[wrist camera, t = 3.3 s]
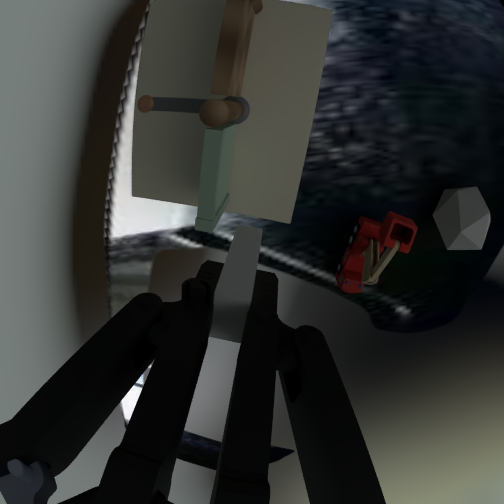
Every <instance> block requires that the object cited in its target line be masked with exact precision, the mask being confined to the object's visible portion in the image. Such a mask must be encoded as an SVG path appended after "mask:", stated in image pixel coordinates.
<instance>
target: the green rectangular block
mask: <svg viewBox="0 0 504 504" xmlns="http://www.w3.org/2000/svg"><path fill="white" fill-rule="evenodd" d="M235 130H236V124H234V123H224V124H222V125H219V126H215V127H212V128H206V129H205V136H204V145H203V155H202V165H201V175H200V187H199V199H198V212H197V217H196V219H195V230H200V231H206V232H211V233H212V232H213V230H214V228H215V227H216V225H217V223H218V221H219V219H220V217H221V216H222V214H223V212H224V210H225V208H226V207H227V205H228V203H229V196H230V194H228V193H227V189H228V181H229V173H230V166H231V158H232V151H233V144H234V137H235Z"/></svg>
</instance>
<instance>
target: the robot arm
mask: <svg viewBox="0 0 504 504" xmlns="http://www.w3.org/2000/svg"><path fill="white" fill-rule="evenodd" d="M499 1H500V2H501V4H502V5H503V7H504V0H499ZM262 232H263V229H259V228H254V227H250V226H245V225H240V224H238V227H237V229H236V232H235V235H234V238H233V241H232V243H231V246H230V249H229V252H228V255H227V258H226V261H225V263H219V262H214V261H210V260H207V261H206V262H205V263H203V264H202V265H201V267H200V269H199V272H198V273H197V276H196V278H190V279H188V280H185V281H184V282H183V284H182V299H181V300H180V301H177V302H162V300H161V298H160V297H159V296H157V295H156V294H153V293H142V294H139V295H137V296H135V297H134V298H133V299H132V300H131V301H130V302H129V303H128V304H127V305H125V306H124V307H123V308H122V309H121V310H120V311H119V312H118V313H117V314H116V315H115V316H114V317H112V318H111V319H110V320H109V321H108V322H107V323H106V324H105V325H104V326H103V327H102V328H101V329H100V330H99V331H98V332H96V333H95V334H94V335H93V336H92V337H91V338H90V339H89V340H88V341H87V342H86V343H85V344H84V345H83V346H82V347H81V348H80V349H79V350H78V351H77V352H76V353H75V354H74V355H73V356H72V357H71V358H70V359H69V360H68V361H67V362H66V363H65V364H64V365H63V366H62V367H61V368H60V369H59V370H58V371H57V372H56V373H55V374H54V375H53V376H52V377H51V378H50V379H49V380H48V381H47V382H46V383H45V384H44V385H43V386H42V387H41V388H40V389H39V391H37V392H36V393H35V395H34V396H33V397H32V398H31V399H30V400H29V401H28V402H27V403H26V404H25V405H24V406H23V408H21V410H20V411H19V412H18V413H17V414H16V415H15V416H14V417H13V418H12V419H11V420H9V421H7V422H5V423H3V424H1V425H0V491H1V493H2V495H3V497H4V499H5V501H6V503H7V504H47V501H48V499H49V497H50V496H51V495H52V494H53V493H54V492H55V491H56V489H57V485H56V482H55V478H54V477H55V476H57V475H58V474H60V473H61V472H62V471H64V470H65V469H66V468H67V467H68V466H69V465H70V464H71V463H72V461H74V459H75V458H76V457H77V456H78V454H79V453H80V452H81V451H82V449H83V448H84V447H85V445H86V444H87V443H88V442H89V440H90V439H91V438H92V437H93V435H94V434H95V433H96V432H97V430H98V429H99V428H100V427H101V425H102V424H103V423H104V421H105V420H106V419H107V418H108V417H109V415H110V414H111V413H112V411H113V410H114V409H115V407H116V406H117V405H118V404H119V403H120V401H121V400H122V399H123V398H124V396H125V395H126V394H127V393H128V391H129V390H130V389H131V388H132V386H133V385H134V384H135V383H136V382H137V380H138V379H139V378H140V377H141V375H142V374H143V373H144V372H145V370H146V369H147V368H148V367H149V365H150V364H151V363H152V362H153V360H154V359H155V360H154V362H153V365H152V367H151V369H150V372H149V374H148V376H147V379H146V381H145V384H144V386H143V388H142V391H141V393H140V396H139V398H138V401H137V403H136V406H135V408H134V411H133V413H132V416H131V418H130V421H129V424H128V426H127V429H126V431H125V434H124V437H123V439H122V442H121V444H120V445H119V446H118V447H116V448H115V449H114V450H113V451H112V453H111V455H110V457H109V459H108V462H107V464H106V467H105V470H104V473H103V476H102V479H101V481H100V484H99V486H97V487H94V488H92V489H90V490H87V491H85V492H83V493H81V494H79V495H77V496H74V497H72V498H70V499H68V500H65V501H63V502H60V503H58V504H174V503H172V502H170V501H168V496H169V492H170V487H171V478H172V473H173V469H174V465H175V462H176V458H177V454H178V450H179V447H180V443H181V439H182V435H183V432H184V428H185V424H186V421H187V417H188V413H189V410H190V406H191V402H192V399H193V395H194V391H195V388H196V384H197V381H198V377H199V374H200V370H201V366H202V363H203V359H204V356H205V353H206V349H207V345H208V338H209V334H210V337H214V338H219V339H223V340H228V341H232V342H237V343H241V345H240V349H239V354H238V358H237V365H236V370H235V376H234V381H233V387H232V392H231V397H230V402H229V408H228V414H227V418H226V424H225V429H224V435H223V439H222V445H221V450H220V455H219V460H218V465H217V471H216V476H215V481H214V486H213V490H212V495H211V499H210V504H269V501H270V485H269V483H268V467H269V456H270V445H271V433H272V421H273V408H274V394H275V380H276V370H278V371H279V377H280V381H281V385H282V389H283V393H284V397H285V402H286V406H287V410H288V414H289V418H290V423H291V427H292V431H293V435H294V439H295V443H296V448H297V452H298V456H299V460H300V464H301V469H302V473H303V477H304V481H305V485H306V489H307V493H308V497H309V501H310V504H386V502H385V499H384V496H383V493H382V490H381V487H380V484H379V481H378V478H377V475H376V472H375V469H374V466H373V464H372V460H371V458H370V455H369V452H368V449H367V446H366V443H365V441H364V438H363V435H362V433H361V430H360V427H359V424H358V422H357V419H356V416H355V414H354V411H353V408H352V406H351V403H350V400H349V398H348V395H347V393H346V390H345V387H344V385H343V382H342V380H341V377H340V375H339V372H338V369H337V367H336V365H335V362H334V359H333V357H332V355H331V352H330V350H329V347H328V345H327V342H326V340H325V337H324V335H323V334H322V332H321V331H320V330H318V329H317V328H315V327H312V326H308V325H303V326H299V327H298V328H297V329H294V328H291V327H289V326H287V325H285V324H284V323H283V322H282V321H281V320H280V319H279V318H278V315H277V298H278V297H277V296H278V278H277V277H276V275H275V273H271V272H266V271H261V270H257V263H258V257H259V251H260V244H261V238H262Z"/></svg>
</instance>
